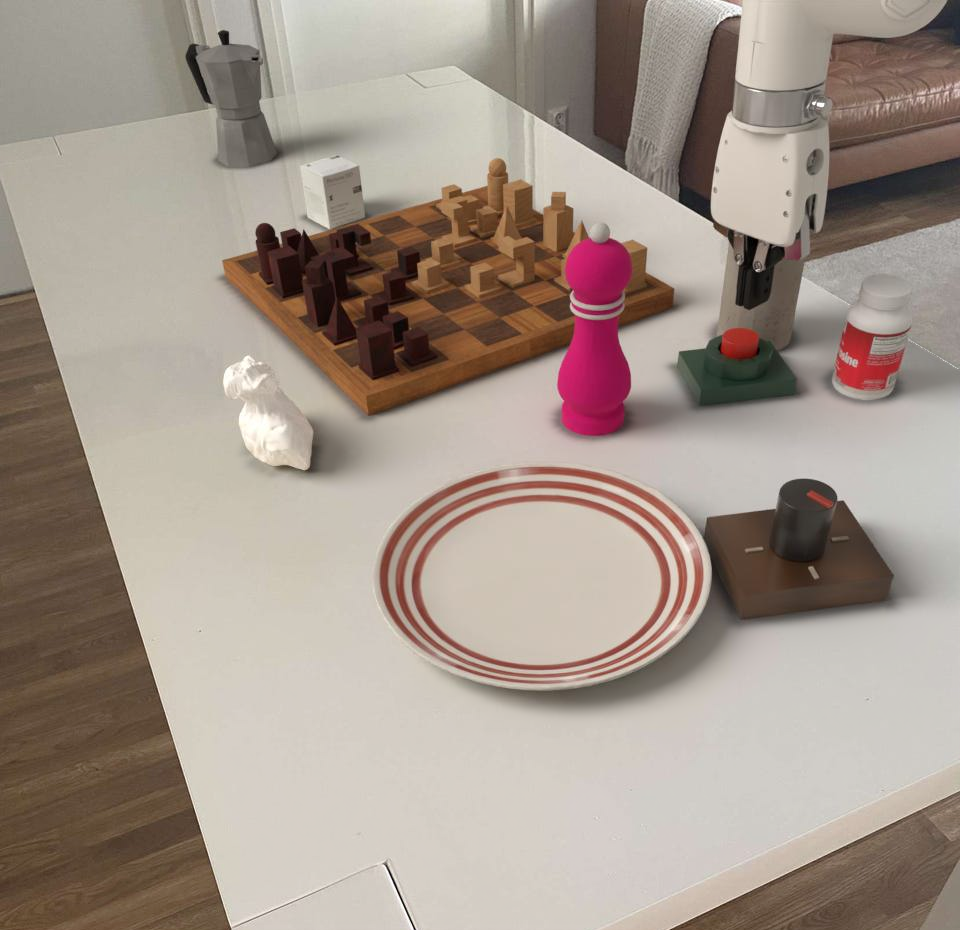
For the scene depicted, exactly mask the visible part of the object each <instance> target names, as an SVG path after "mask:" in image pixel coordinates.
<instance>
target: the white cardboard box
mask: <svg viewBox="0 0 960 930" xmlns="http://www.w3.org/2000/svg"><path fill="white" fill-rule="evenodd" d="M299 169H300V171H299V172H300V176H301V182H302V189H303V194H304V195H303V196H304V201H305V202H304V203H305V208H306V216H307V219H309V220H311V221H313V222H315V223H317V224H319V225H321V226H322V227H325V228H326V229H328V230H332V229H335V228H339V227H342V226H345V225H348V224H349V223H350V224H351V223H354V222H356V221H360V220H363V219H365V218H366V211H365V204H364V195H363V187H362V186H363V185H362V179H361V178H362V177H361V169H360V165H359V164H358V163H356V162H354V161H351V160H348V159H347V158H345V157H342V156H340V155H338V154H335V155H332V156H329V157H325V158H321V159H317V160H314V161H312V162H309V163H305V164H301V165H300V166H299Z"/></svg>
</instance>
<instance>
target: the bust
mask: <svg viewBox="0 0 960 930" xmlns="http://www.w3.org/2000/svg"><path fill="white" fill-rule="evenodd" d="M222 386H223V389H224V394H225V395H226V396H227V397H228V398H229V399H230V400H238V399H240V400H242V401H243V402H244V405H243V407H242V409H241V412H239V417H238V425H239V429H240V432H241V437H242V439H243V441H244V444H245V447H246V449H247V450H248V451H249V452H250V453H251V454H252V455H253V456H254V457H255V458H256V459H257V460H259V461H260V462H262V463H265V464H266V465H269V466H273V467H279V466H289V467H293V468H294V469H297V470H301V471H307V470H308V469H309V468H310V466H311V458H312V452H313V451H312V447H313V439H314V429H313V427H312V425H311V424H310V422H309V421H308V419H307V417H306V415H305V414H304V413H303V412H302V410H301V409H300V408H299V406H297V404H296V403H295V402H294V401H293V400H292V399H290V398H289V397H288V395H286V394H285V393H284V391H283V389H282V388H281V387H280V382H279V381H278V379H277V378H276V375H275V371H274V370H273V369H272V365H271V364H268V363H267V364H266V363H265V362H263V361H259V362H257V361H256V360H255V358H253V356H252V355H250V354H249V355H245V356H244V358H243V359H242V360H241V361H238V362H236V363H233V364H231V365H230V366H228V367H227V368H226V369H225V371H224V374H223V381H222Z"/></svg>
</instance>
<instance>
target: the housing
mask: <svg viewBox="0 0 960 930" xmlns="http://www.w3.org/2000/svg"><path fill="white" fill-rule="evenodd" d="M722 337H723V335H720V336H718V337H717V336H716V337H714V338H712V339H710V340H709V341H708V342H707V345H706V347H705V348H696V349H687V350H686V349H685V350H679V351H678V355H677V364H676V369H677V370H678V372H679V374H680V375H681V377H682V379H683V380H684V382H685V384H686V386H687V387H688V390H690V393H691V395H692V396H693V398H694V400H695V402H696V404H697V406H698V407H704V406H705V407H706V406H712V405H720V404H721V405H722V404H729V403H731V404H732V403H738V402H739V403H740V402H747V401H755V400H764V399H773V398H781V397H788V396H795V391H796V386H797V383H798V382H797V381H798V378H797V376H796V375H795V373H794V372H793V371H792V370H791V368H790V367H789V365H788V363H786V361H785V360H784V358H783V357H782V356H781V354H780V353H779V352H778V351H777V350H776V349H775V347H774V346H773V345H772V343H771V342H770V341H765V340H763V339H761V338H759V341H758V347H757V353H756V355H755V356H754V357H752V358H750V359H741V360H740V359H734V358H729V357H727V356H725V355H723V354H722V353H721V344H722Z"/></svg>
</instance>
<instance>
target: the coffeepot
mask: <svg viewBox="0 0 960 930" xmlns="http://www.w3.org/2000/svg"><path fill="white" fill-rule="evenodd" d="M217 35H218V38H219V40H220V44H219V45H214V46H212V47H211V46H210V45H207V44H198V43H191V44H189V45H188V47H187V50H186V52H185V61H186V64H187V66H188V68H189V70H190V72H191V74H192V77H193V80H194V83H195V84H196V86H197V88H198V91H199V93H200V95H201V98H202V100H203V101H204V103H206V104H209V105H213V106H214V107H215V110H216V114H217V115H216V116H217V117H216V119H215V124H216V125H215V126H216V141H217V142H216V143H217V159H218V162H220V163H221V164H223V165H224V166H225V167H228V168H251V167H255V166H259V165H262V164H266V163H270V162H272V160H273V159H274V158H275V157H276V156H277V154H278V152H277V149H276V146H275V143H274V140H273V137H272V134H271V132H270V128H269V126H268V123H267V119H266V117H265V114H264V112H262V110H261V109H262V108H261V104H260V101H261V99H262V75H261V74H262V73H261V66H262V65H264V58H262V57H261V55H260V49H258V48H256V47H254V46H252V45H249V44H240V43H239V44H238V43H230V31H229V30H225V29H222V30H220V31H218V32H217Z"/></svg>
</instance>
